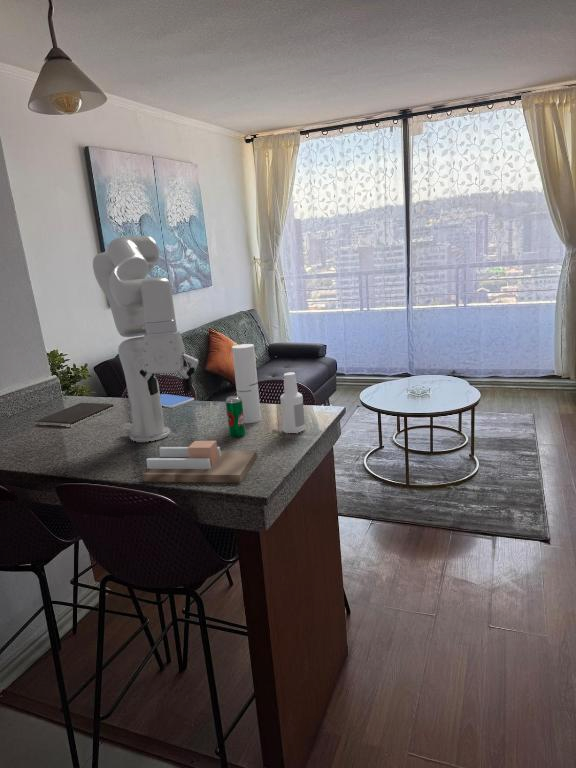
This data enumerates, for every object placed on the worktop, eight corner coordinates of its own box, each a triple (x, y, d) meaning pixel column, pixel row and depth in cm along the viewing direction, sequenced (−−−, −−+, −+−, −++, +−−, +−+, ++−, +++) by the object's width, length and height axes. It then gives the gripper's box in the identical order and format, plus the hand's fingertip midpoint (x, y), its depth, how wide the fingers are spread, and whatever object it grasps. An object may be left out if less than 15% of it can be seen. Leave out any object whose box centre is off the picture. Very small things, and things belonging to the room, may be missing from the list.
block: (190, 465, 143) (187, 447, 141) (197, 458, 147) (194, 440, 146) (212, 465, 141) (209, 447, 140) (218, 458, 146) (216, 440, 145)
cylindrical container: (265, 419, 182) (258, 345, 176) (246, 424, 179) (238, 349, 172) (254, 415, 188) (246, 343, 182) (235, 420, 184) (227, 346, 178)
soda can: (243, 438, 166) (239, 400, 163) (227, 438, 167) (222, 400, 164) (247, 432, 171) (243, 395, 168) (232, 432, 172) (227, 395, 169)
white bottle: (307, 432, 166) (302, 374, 162) (284, 435, 166) (279, 377, 161) (302, 425, 173) (298, 370, 169) (281, 428, 172) (276, 372, 168)
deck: (142, 481, 140) (141, 474, 140) (168, 457, 155) (167, 450, 155) (240, 482, 135) (239, 475, 134) (257, 457, 150) (256, 450, 149)
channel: (147, 468, 143) (146, 459, 142) (162, 455, 152) (160, 447, 151) (209, 469, 139) (208, 459, 139) (220, 455, 148) (219, 446, 147)
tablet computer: (138, 404, 217) (138, 400, 217) (163, 395, 227) (162, 392, 226) (171, 409, 205) (170, 406, 205) (195, 400, 215) (195, 397, 215)
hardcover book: (37, 426, 198) (35, 420, 197) (82, 408, 218) (81, 402, 218) (71, 429, 192) (70, 422, 191) (114, 409, 212) (113, 403, 212)
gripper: (123, 332, 138) (134, 398, 142) (186, 327, 134) (196, 396, 137) (138, 328, 145) (147, 391, 149) (198, 323, 141) (207, 388, 145)
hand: (171, 393), depth 143 cm, fingers open, 9 cm apart
